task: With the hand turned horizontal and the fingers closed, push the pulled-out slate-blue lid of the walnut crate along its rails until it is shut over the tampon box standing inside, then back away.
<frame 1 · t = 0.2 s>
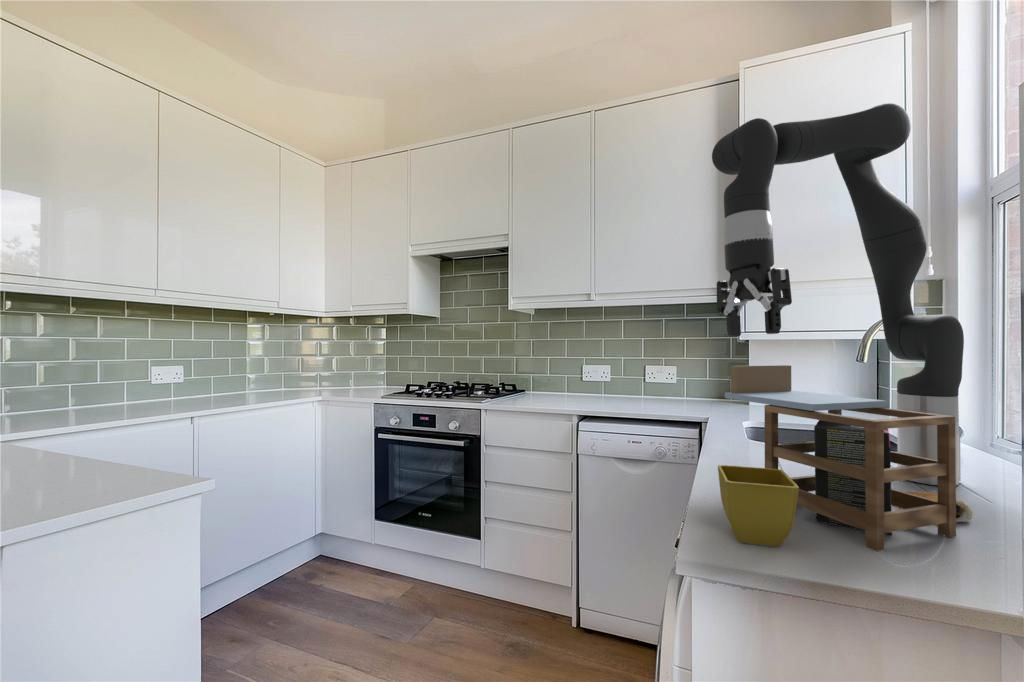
hand: (752, 335, 79), 29 cm above the countertop, tool pointing down, fingers open, 8 cm apart
flower pot: (755, 540, 64), on the countertop
tampon box: (852, 520, 71), touching crate
lid: (799, 384, 80), point 20 cm above the countertop, slide at 9.0 cm
crate: (852, 519, 71), on the countertop
pastry: (932, 517, 74), on the countertop
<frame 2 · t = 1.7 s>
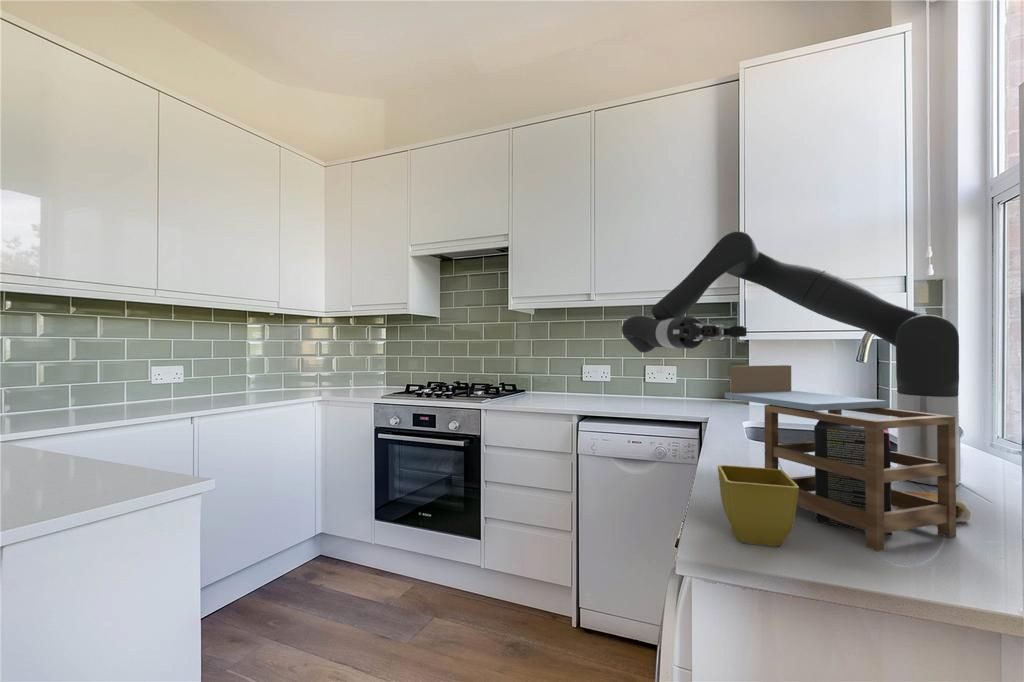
hand: (731, 331, 95), 30 cm above the countertop, tool horizontal, fingers open, 6 cm apart
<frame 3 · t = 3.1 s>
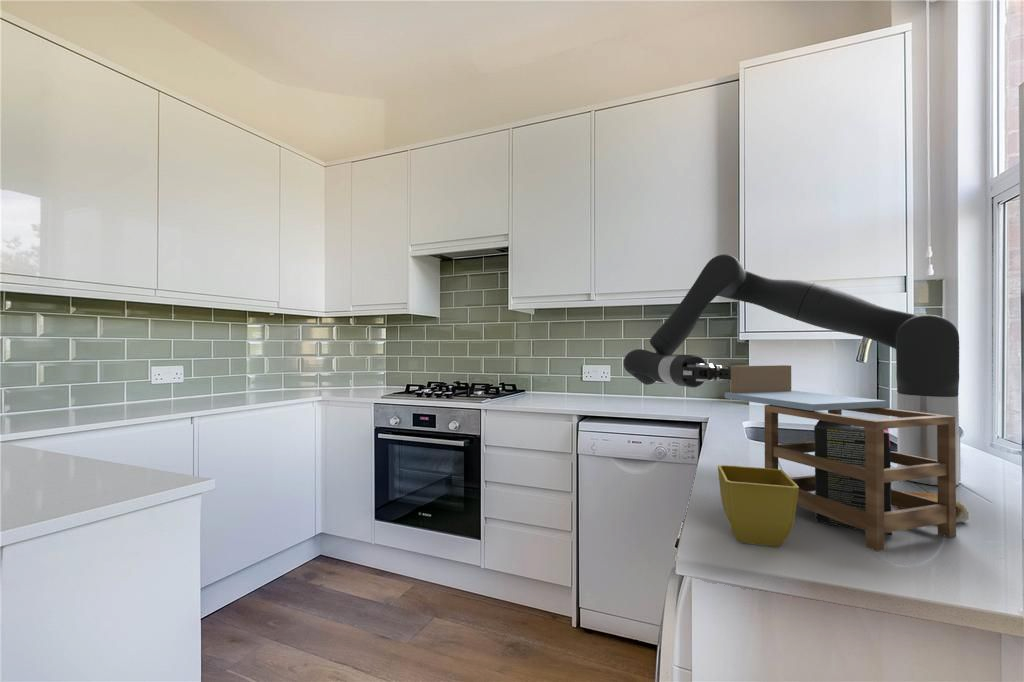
hand: (737, 374, 93), 21 cm above the countertop, tool horizontal, fingers closed
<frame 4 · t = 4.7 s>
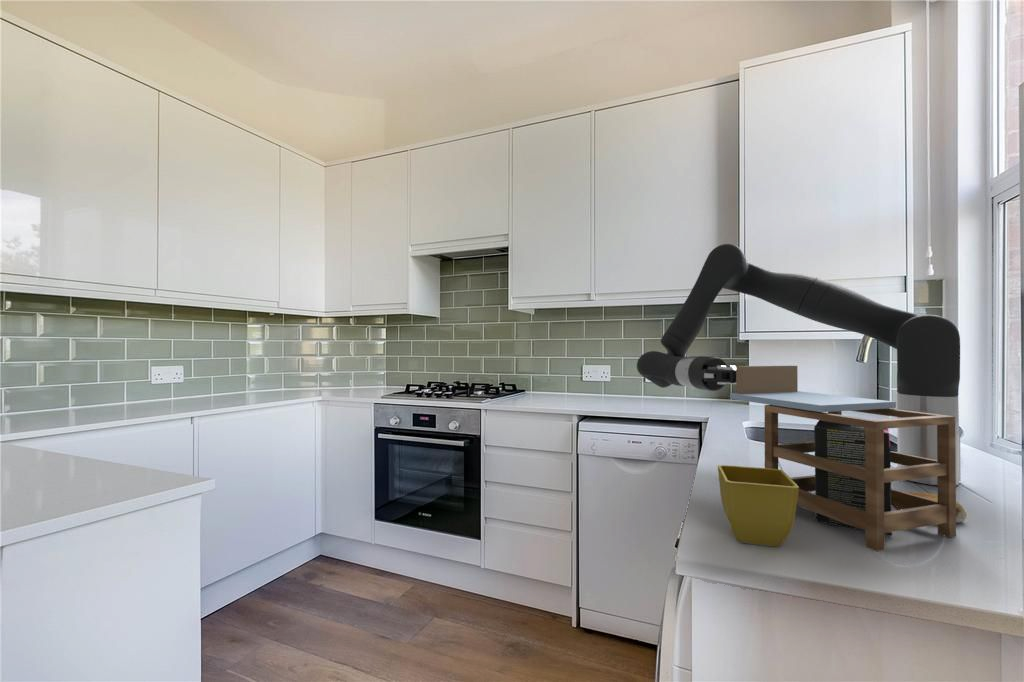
hand: (763, 377, 87), 21 cm above the countertop, tool horizontal, fingers closed
lid: (806, 385, 79), point 20 cm above the countertop, slide at 7.7 cm, touching gripper
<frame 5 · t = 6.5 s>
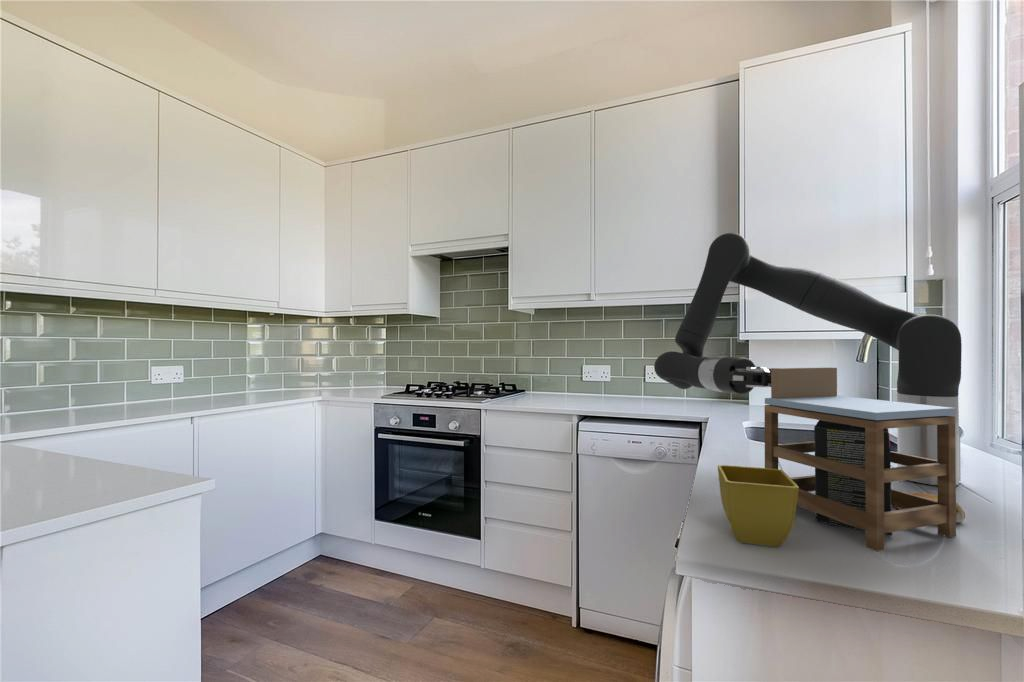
hand: (800, 380, 80), 21 cm above the countertop, tool horizontal, fingers closed
lid: (851, 389, 71), point 20 cm above the countertop, slide at -0.1 cm, touching gripper
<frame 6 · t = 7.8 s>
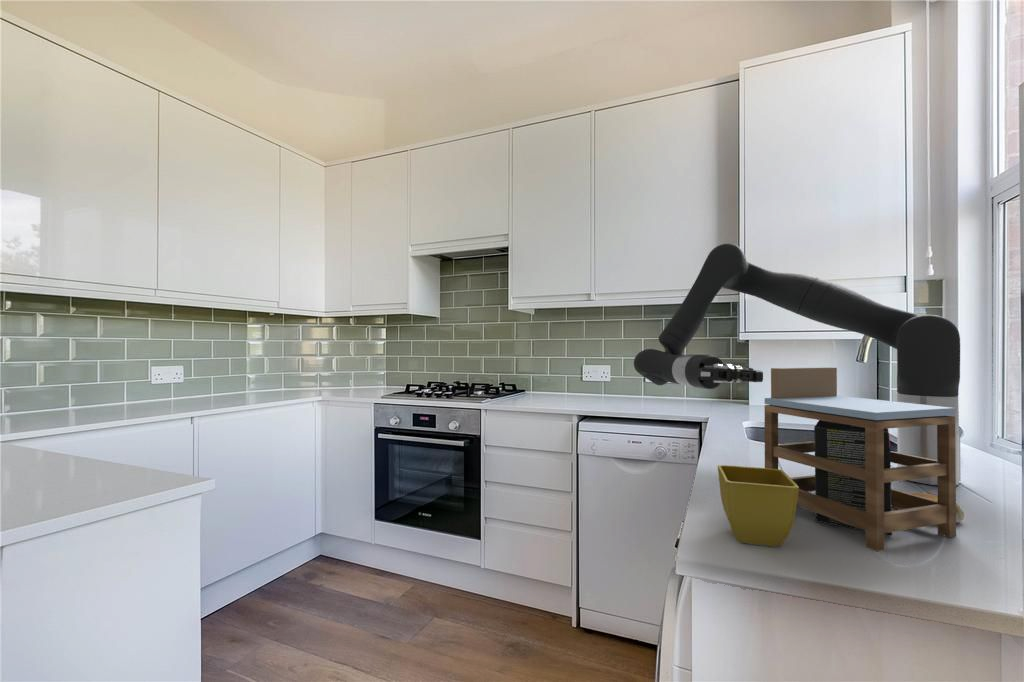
hand: (760, 376, 88), 21 cm above the countertop, tool horizontal, fingers closed
lid: (851, 389, 71), point 20 cm above the countertop, slide at 0.0 cm
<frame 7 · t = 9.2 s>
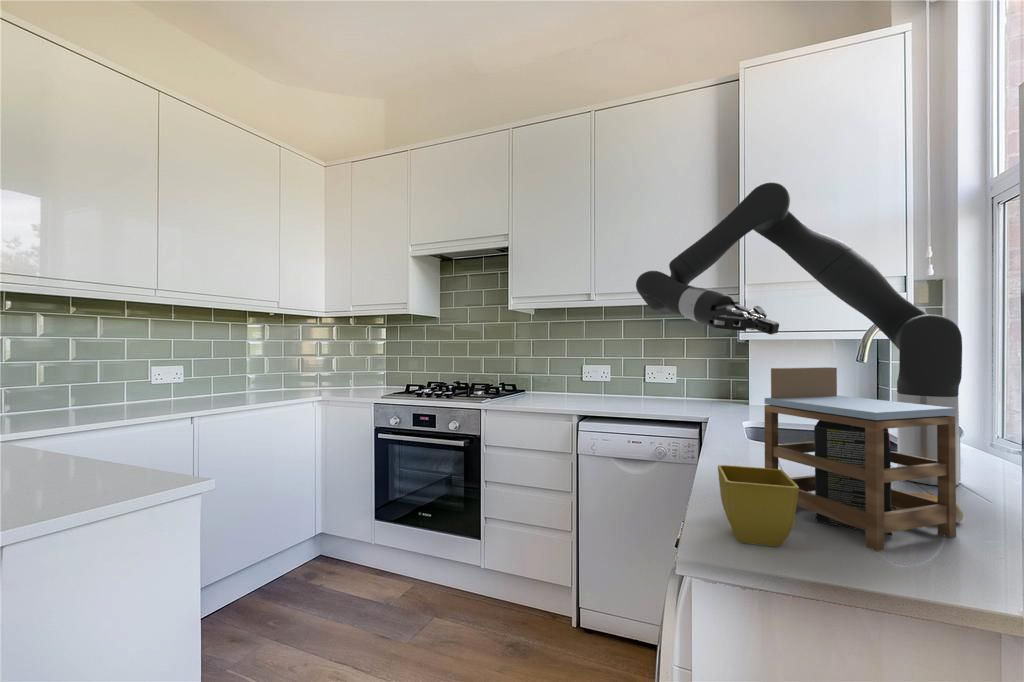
hand: (776, 329, 87), 30 cm above the countertop, tool tilted 70°, fingers closed
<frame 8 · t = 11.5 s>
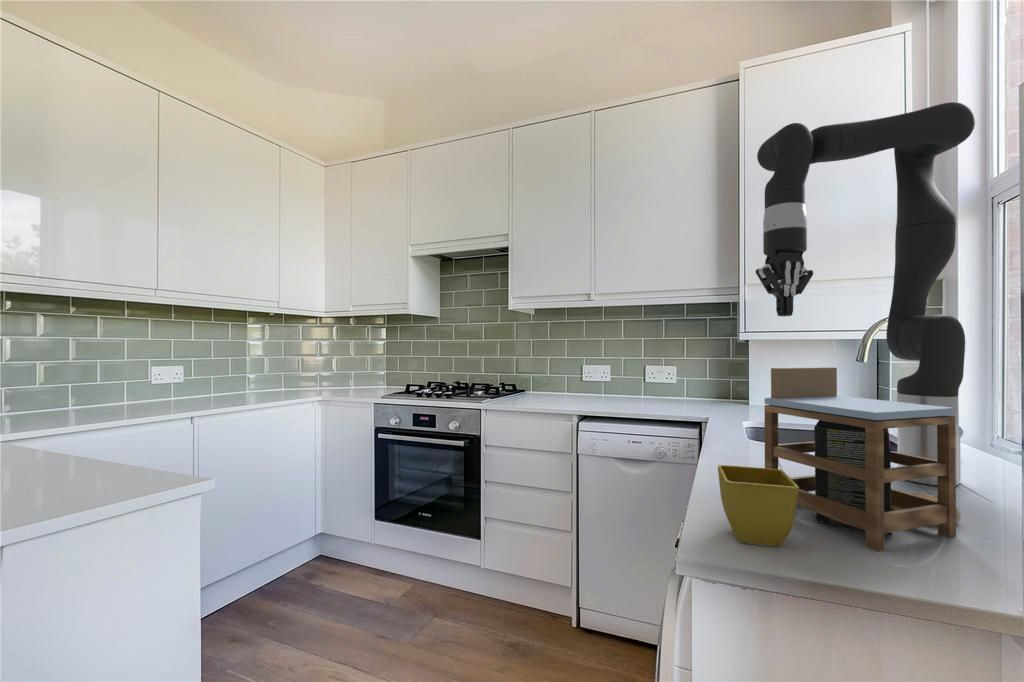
hand: (784, 316, 92), 33 cm above the countertop, tool pointing down, fingers closed
at the end: lid slide at 0.0 cm; tampon box moved 0.0 cm from its start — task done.
